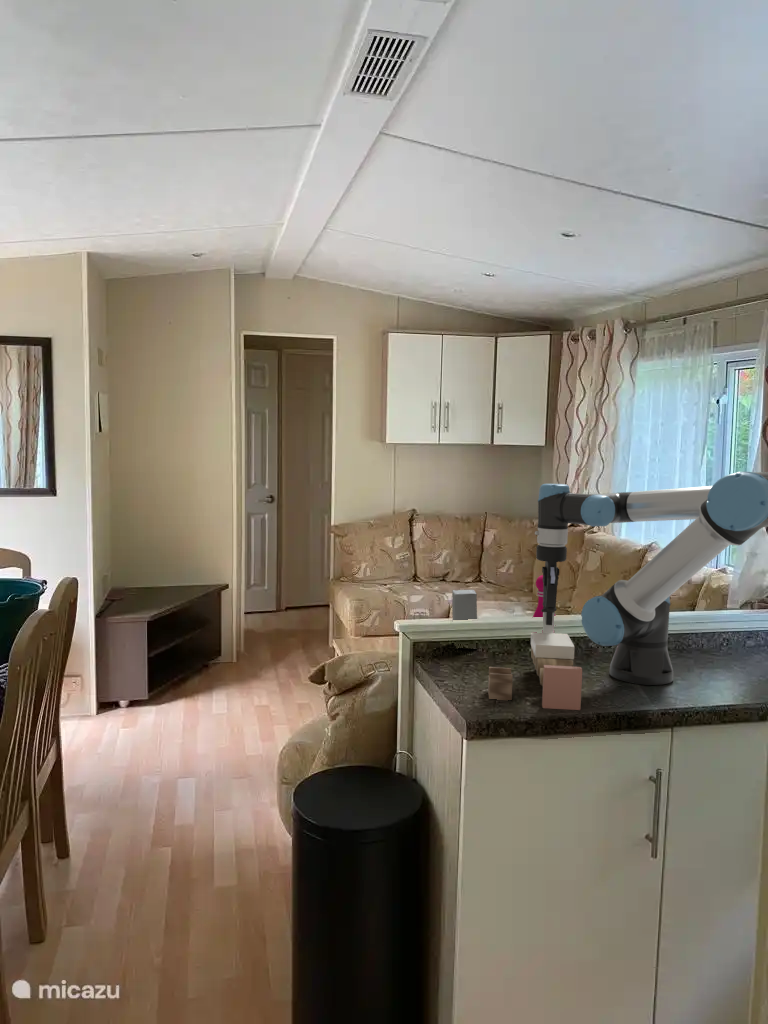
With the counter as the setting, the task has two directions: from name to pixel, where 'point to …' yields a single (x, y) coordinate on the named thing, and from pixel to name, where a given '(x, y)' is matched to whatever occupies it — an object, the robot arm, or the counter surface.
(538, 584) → the pepper mill
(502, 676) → the pedestal
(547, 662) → the roller bed
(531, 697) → the counter surface
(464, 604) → the skincare box
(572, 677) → the block
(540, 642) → the slab
